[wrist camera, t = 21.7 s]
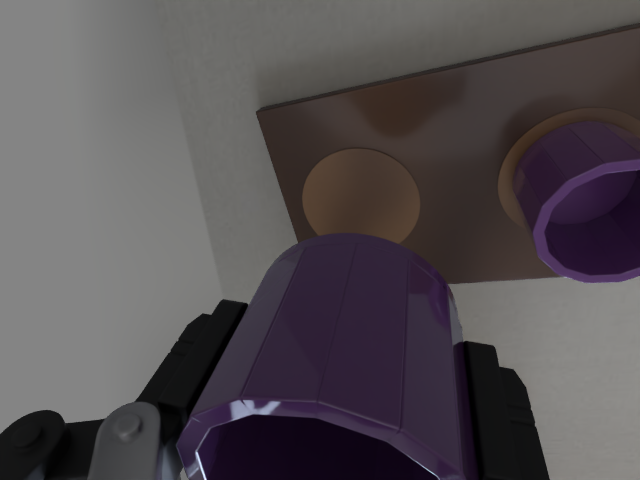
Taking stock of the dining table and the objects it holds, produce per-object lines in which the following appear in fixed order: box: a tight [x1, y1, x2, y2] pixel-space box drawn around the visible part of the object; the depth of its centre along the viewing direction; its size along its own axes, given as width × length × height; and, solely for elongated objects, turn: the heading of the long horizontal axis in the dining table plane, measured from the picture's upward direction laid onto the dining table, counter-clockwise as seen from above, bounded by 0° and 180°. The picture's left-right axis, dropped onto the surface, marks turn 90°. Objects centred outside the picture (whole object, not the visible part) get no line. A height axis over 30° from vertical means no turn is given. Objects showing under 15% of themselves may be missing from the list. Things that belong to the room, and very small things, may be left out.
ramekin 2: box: [512, 121, 640, 283], centre depth 19 cm, size 6×6×5 cm
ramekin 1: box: [176, 233, 479, 480], centre depth 10 cm, size 6×6×5 cm
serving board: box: [256, 23, 640, 284], centre depth 24 cm, size 22×14×1 cm, turn 104°
